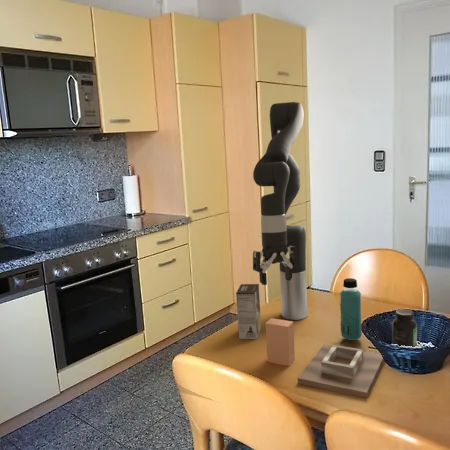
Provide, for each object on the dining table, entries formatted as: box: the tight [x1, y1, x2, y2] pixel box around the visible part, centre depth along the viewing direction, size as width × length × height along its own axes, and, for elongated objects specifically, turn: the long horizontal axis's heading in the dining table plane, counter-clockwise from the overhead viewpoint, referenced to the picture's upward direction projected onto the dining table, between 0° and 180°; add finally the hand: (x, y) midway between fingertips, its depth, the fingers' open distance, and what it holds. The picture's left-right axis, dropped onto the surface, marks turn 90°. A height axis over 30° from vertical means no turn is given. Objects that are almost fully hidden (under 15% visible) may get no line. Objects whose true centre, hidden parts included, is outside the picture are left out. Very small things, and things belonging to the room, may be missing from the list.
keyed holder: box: [297, 344, 385, 399], centre depth 130 cm, size 22×18×4 cm
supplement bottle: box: [391, 308, 418, 347], centre depth 139 cm, size 7×7×12 cm
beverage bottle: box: [339, 277, 363, 341], centre depth 147 cm, size 6×7×20 cm
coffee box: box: [235, 283, 262, 340], centre depth 157 cm, size 9×6×16 cm
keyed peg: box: [265, 317, 296, 367], centre depth 137 cm, size 4×7×12 cm, turn 61°
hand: (276, 282), depth 143 cm, fingers open, 8 cm apart
